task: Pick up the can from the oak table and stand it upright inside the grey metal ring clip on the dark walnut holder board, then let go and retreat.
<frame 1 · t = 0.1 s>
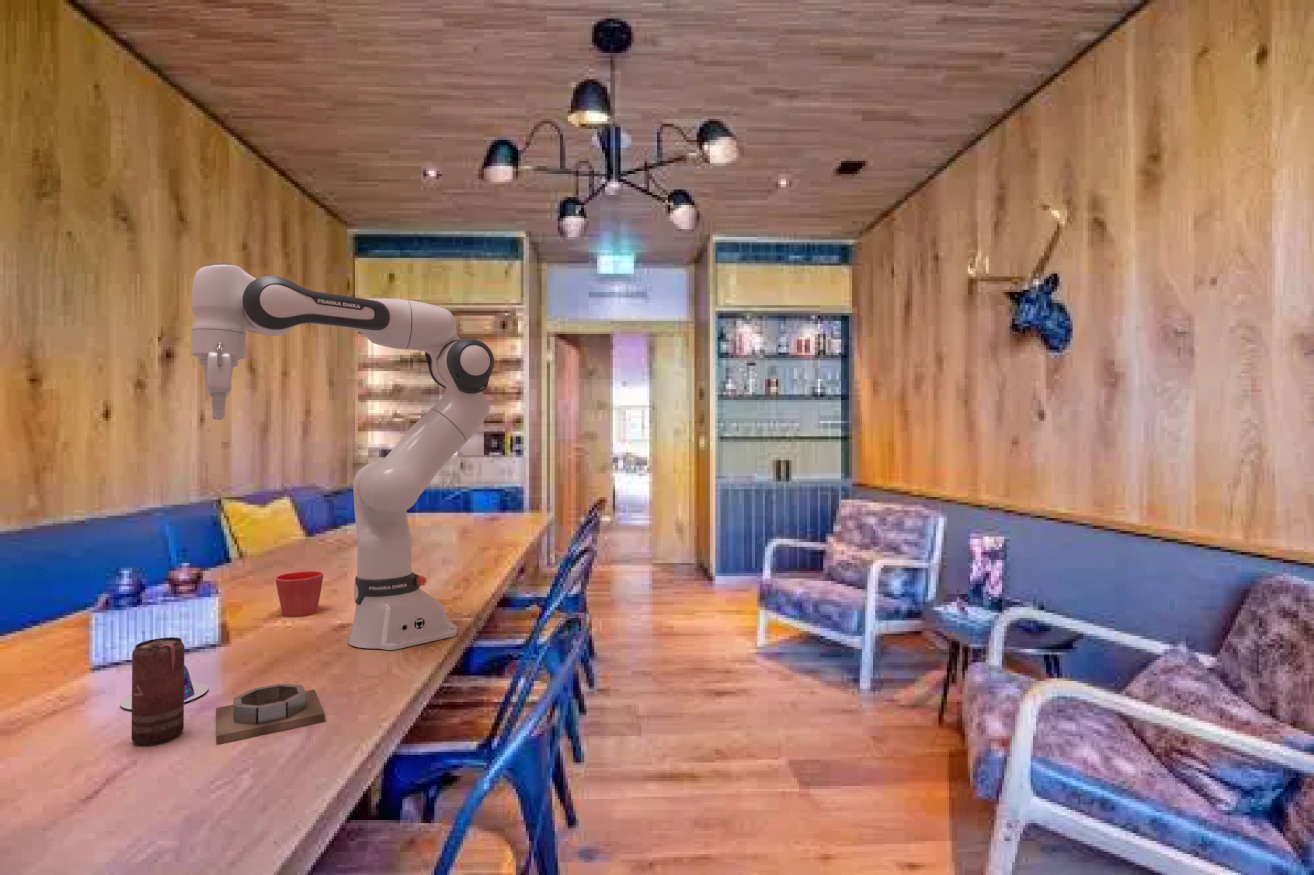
hand: (218, 418, 127), 48 cm above the table, fingers open, 8 cm apart
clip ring: (269, 703, 103), on the holder board, point 2 cm above the table
holder board: (269, 718, 103), on the table
flower pot: (299, 614, 166), on the table
can: (158, 738, 96), on the table
patterned hat: (165, 700, 111), on the table
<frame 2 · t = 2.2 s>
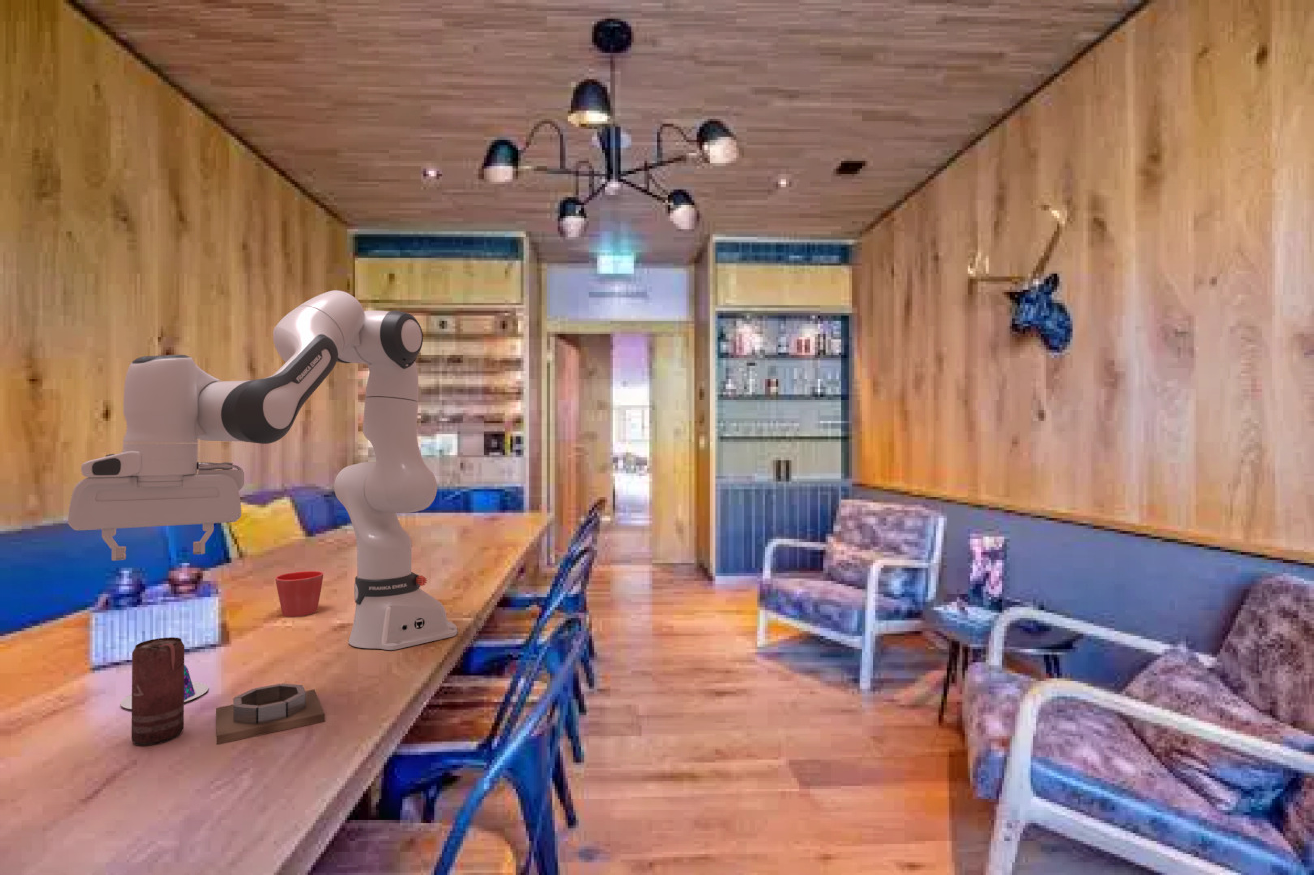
hand: (160, 556, 97), 27 cm above the table, fingers open, 8 cm apart
nothing on the table moved.
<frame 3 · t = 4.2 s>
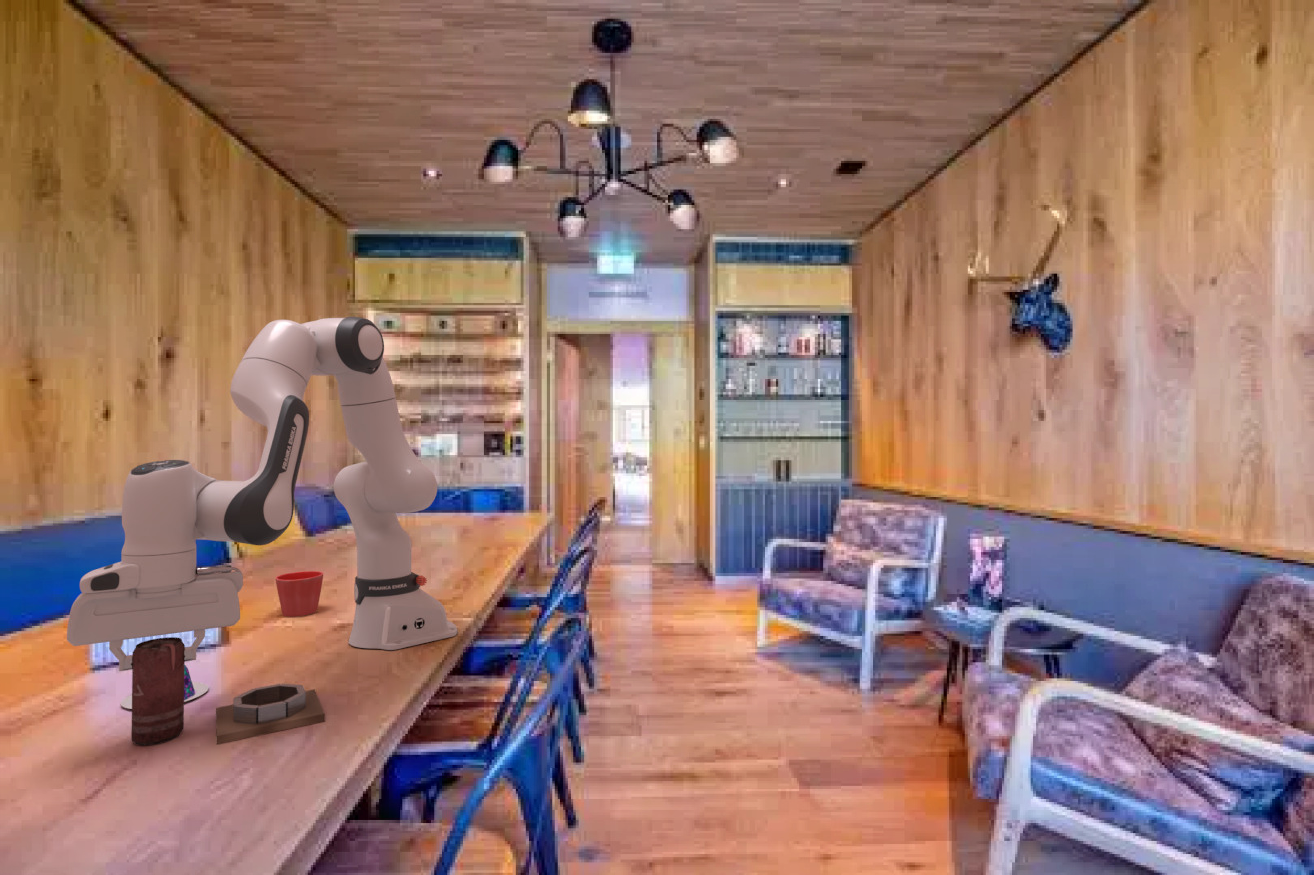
hand: (158, 664, 96), 11 cm above the table, fingers closed on can, 6 cm apart
can: (158, 738, 96), on the table, touching gripper
everything else where it was.
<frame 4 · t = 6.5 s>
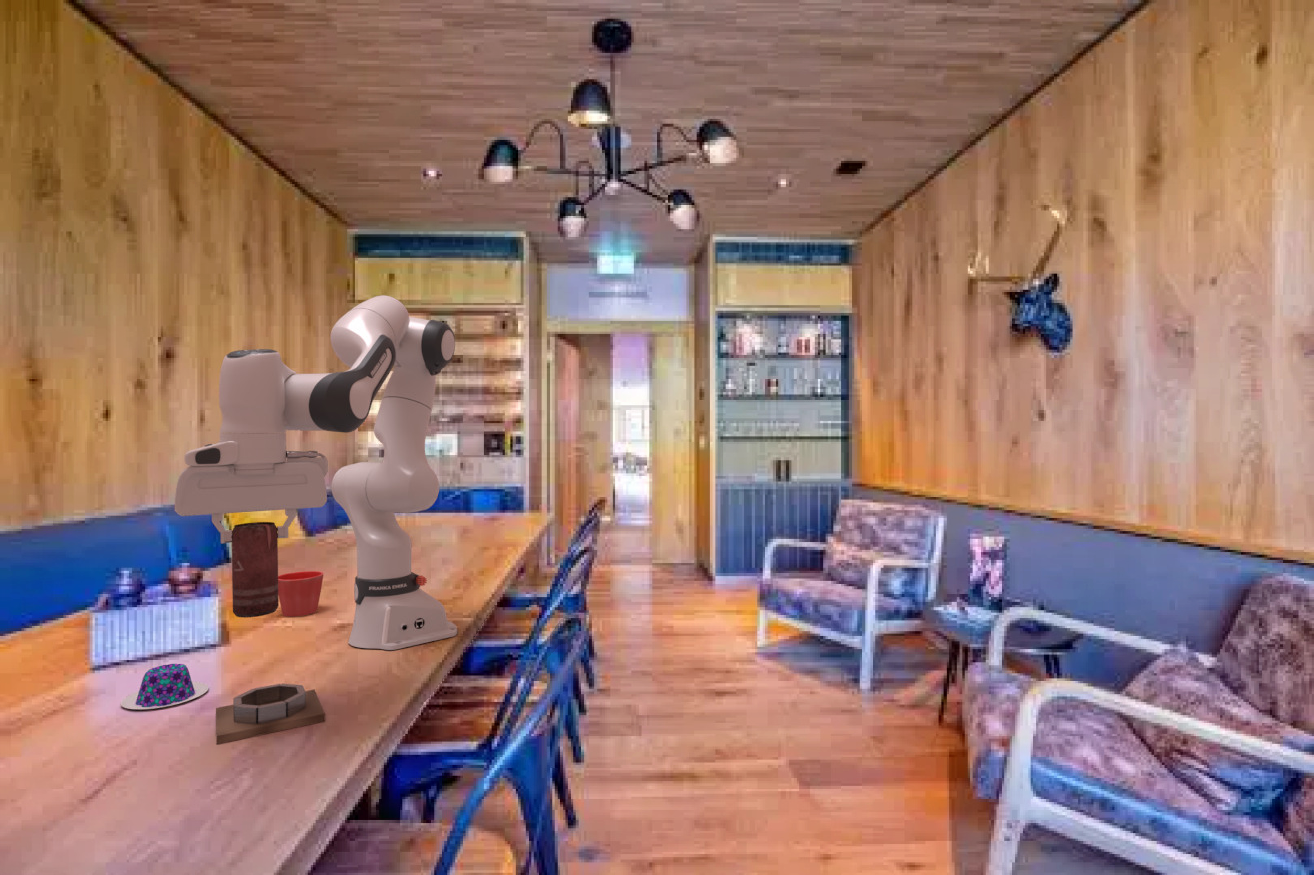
hand: (255, 540, 103), 28 cm above the table, fingers closed on can, 6 cm apart
can: (256, 613, 103), point 17 cm above the table, touching gripper
everything else where it was.
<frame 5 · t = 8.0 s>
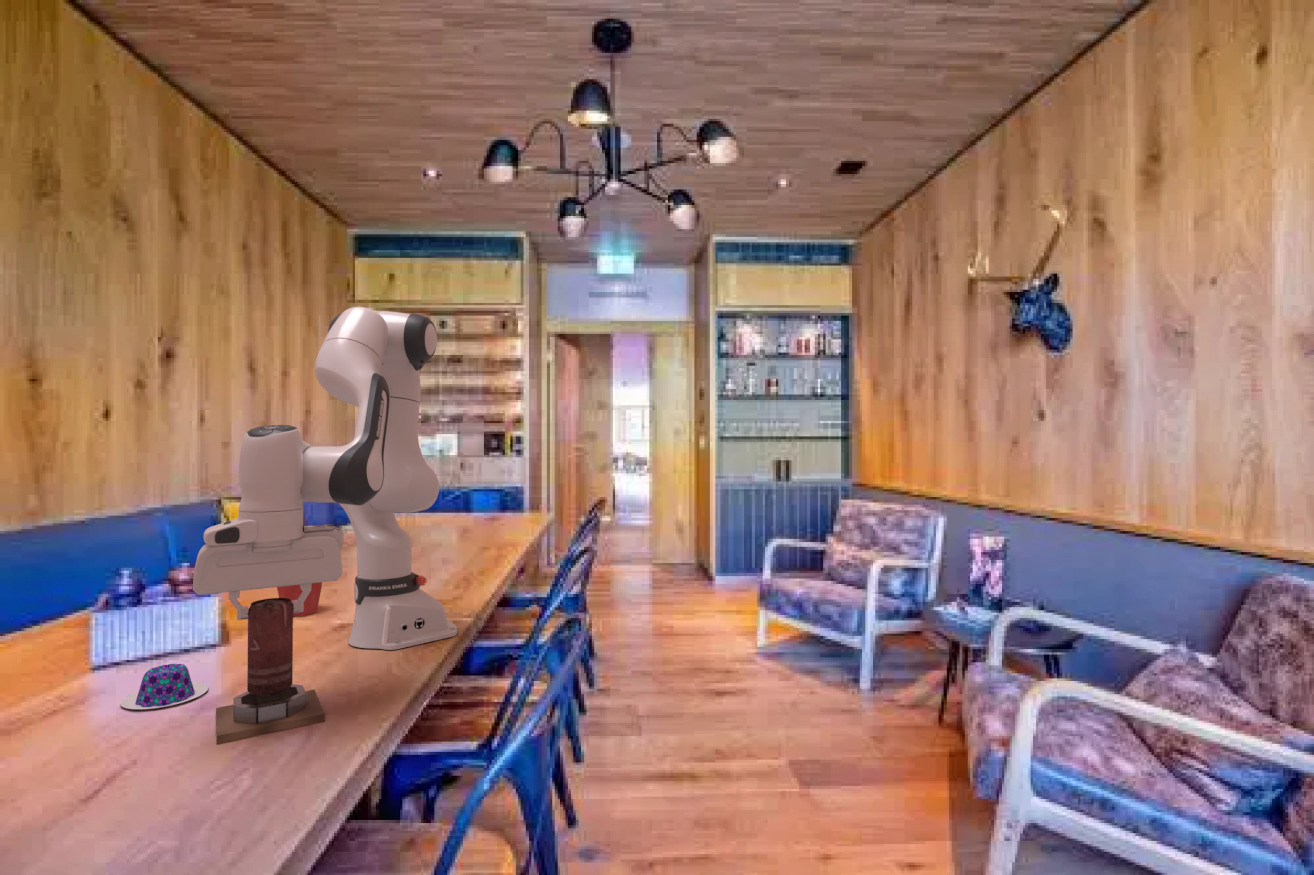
hand: (270, 615, 103), 16 cm above the table, fingers closed on can, 6 cm apart
can: (271, 691, 103), point 4 cm above the table, touching gripper
everything else where it was.
when the fingers open (14 cm above the table, at t = 9.0 s): can stays where it is, resting on holder board.
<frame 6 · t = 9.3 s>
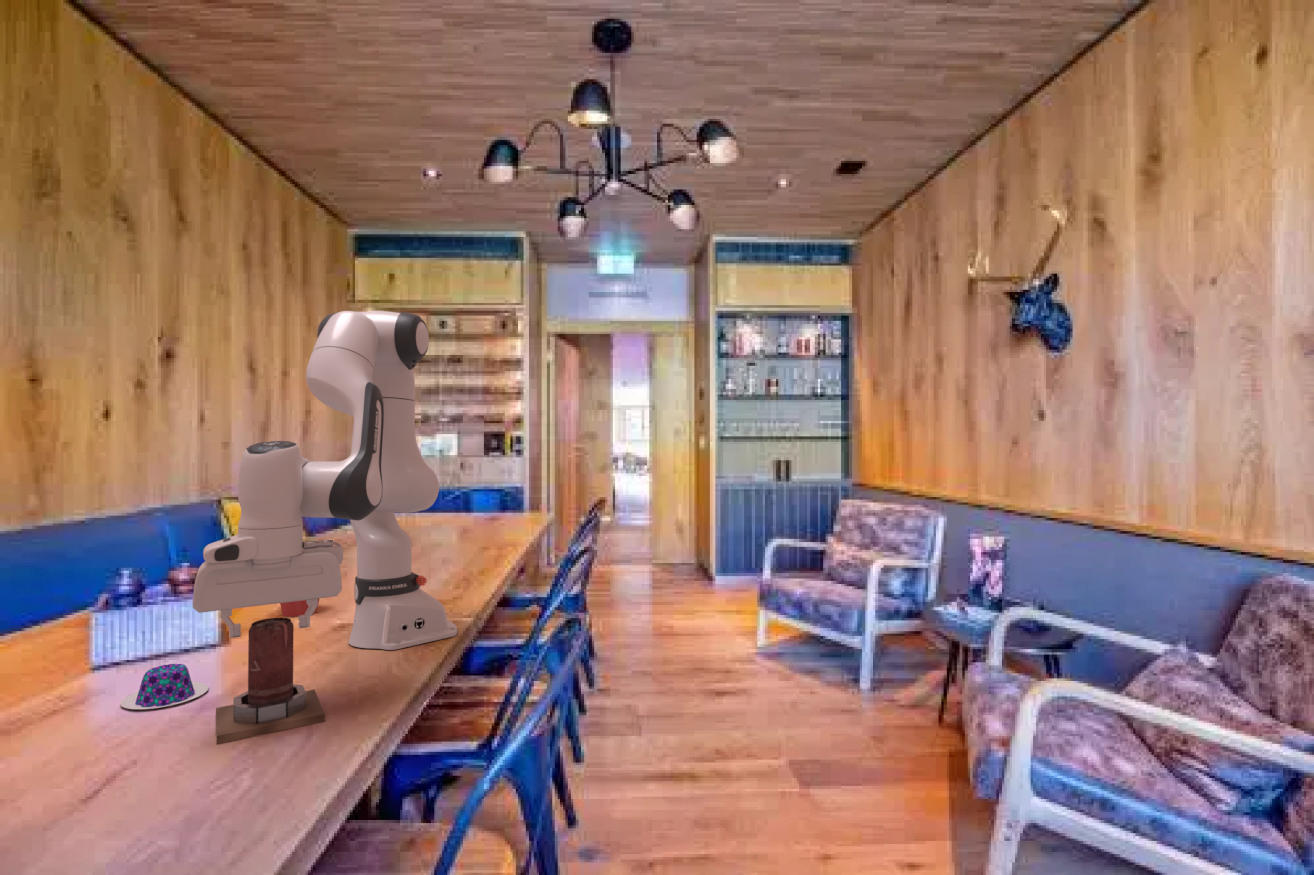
hand: (270, 631, 103), 14 cm above the table, fingers open, 8 cm apart
can: (271, 711, 103), point 1 cm above the table, touching holder board
everything else where it was.
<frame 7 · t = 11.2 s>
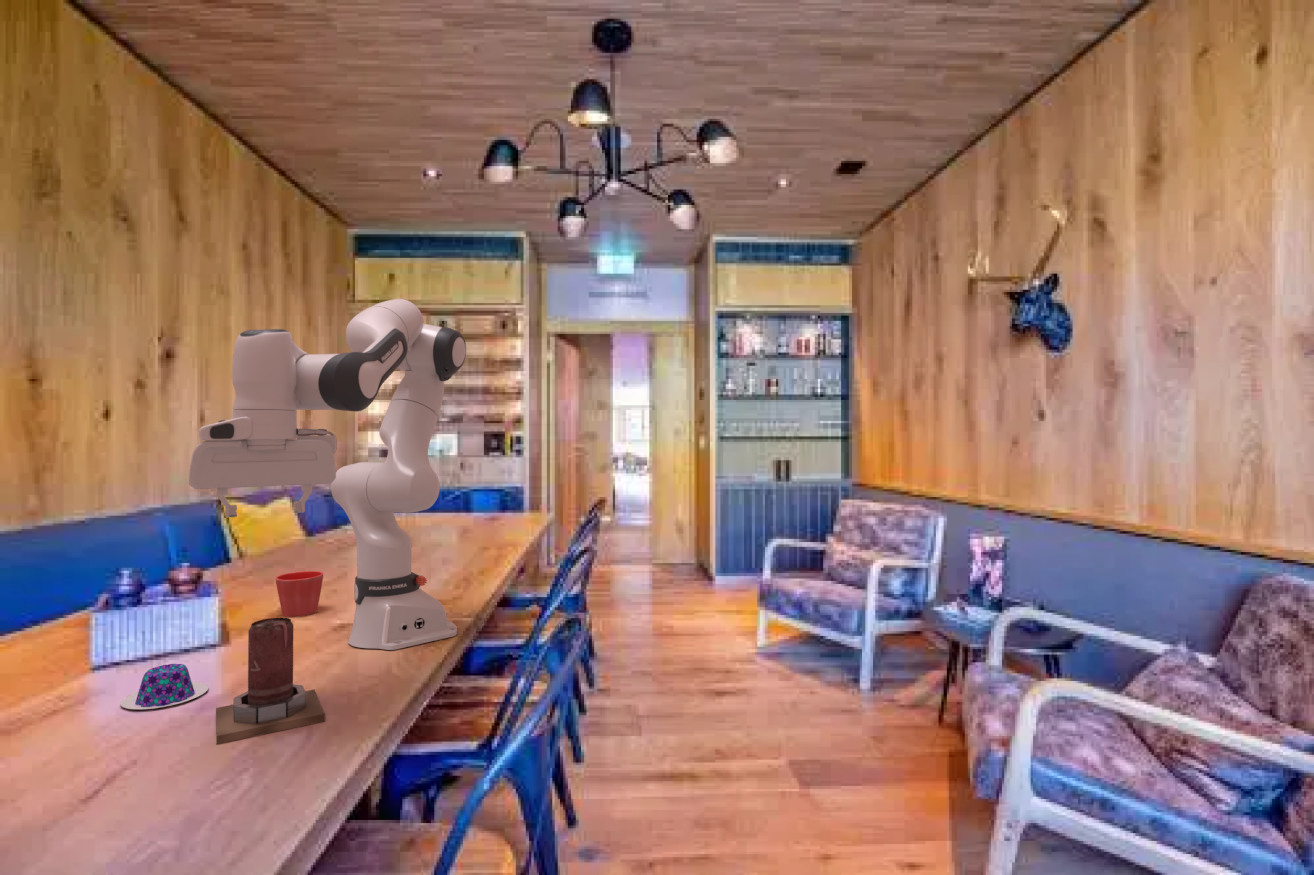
hand: (266, 514, 105), 32 cm above the table, fingers open, 8 cm apart
nothing on the table moved.
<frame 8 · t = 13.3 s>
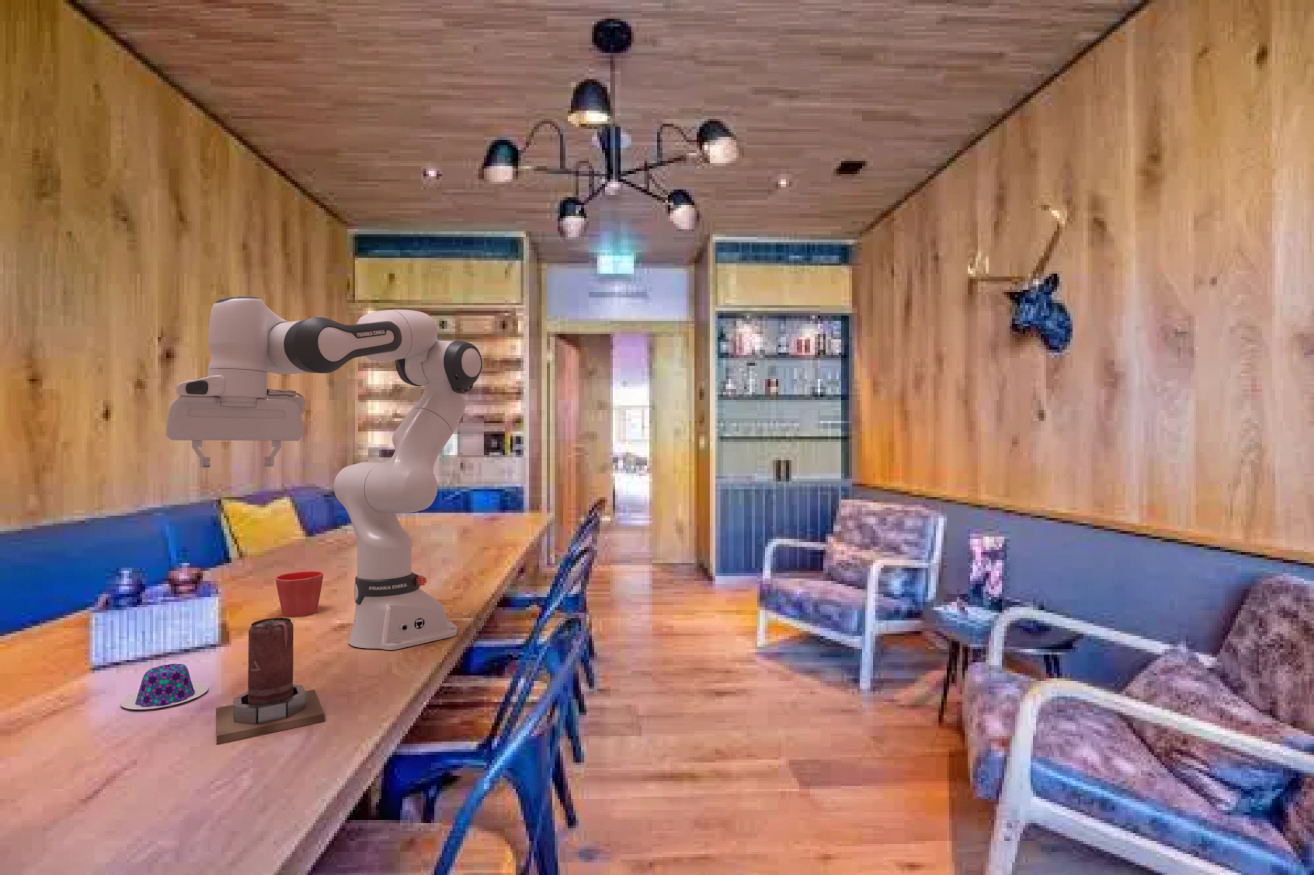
hand: (237, 467, 115), 39 cm above the table, fingers open, 8 cm apart
nothing on the table moved.
at the end: can 0.2 cm from the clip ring (horizontally); can tilted 0°; the gripper is holding nothing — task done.
